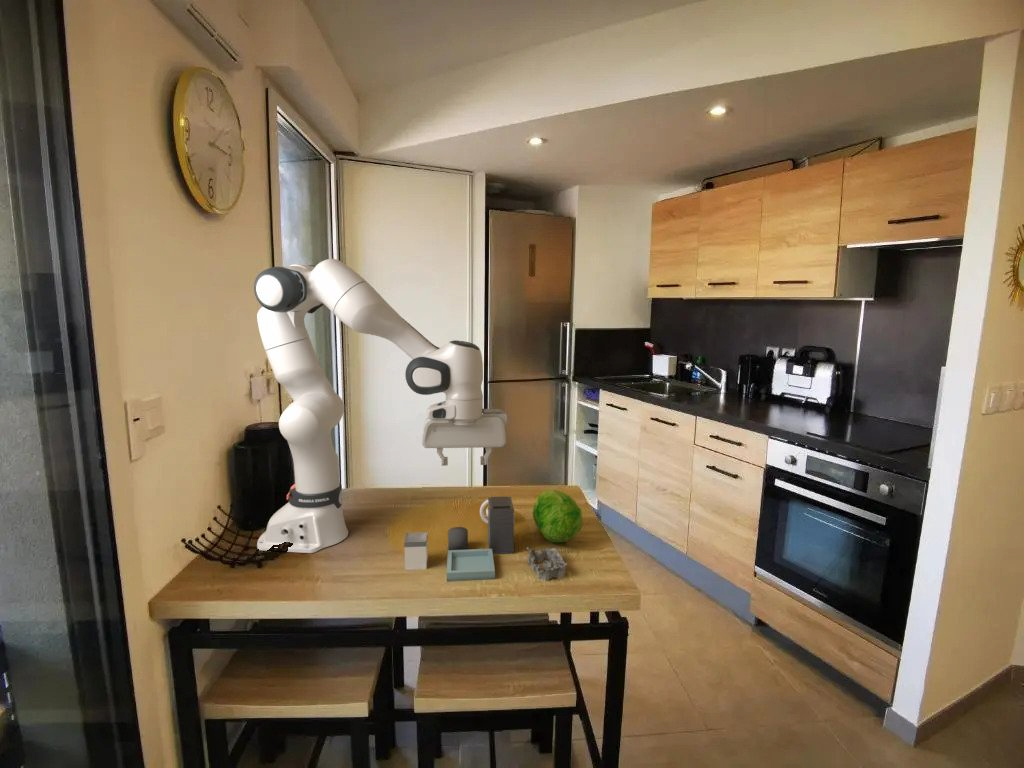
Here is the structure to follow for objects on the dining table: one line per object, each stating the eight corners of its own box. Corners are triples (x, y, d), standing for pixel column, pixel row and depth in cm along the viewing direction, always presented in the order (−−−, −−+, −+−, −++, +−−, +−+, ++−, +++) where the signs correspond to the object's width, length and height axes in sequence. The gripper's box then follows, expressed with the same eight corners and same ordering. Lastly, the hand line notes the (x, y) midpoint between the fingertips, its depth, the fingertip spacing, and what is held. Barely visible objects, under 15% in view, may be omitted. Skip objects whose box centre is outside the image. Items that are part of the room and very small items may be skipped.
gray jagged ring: (524, 561, 129) (525, 545, 128) (553, 557, 131) (553, 542, 130) (537, 583, 118) (538, 566, 118) (568, 579, 120) (569, 562, 120)
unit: (488, 554, 131) (488, 507, 130) (487, 540, 139) (487, 495, 137) (514, 553, 132) (515, 506, 130) (511, 539, 140) (511, 495, 138)
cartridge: (404, 570, 124) (404, 542, 122) (407, 559, 129) (406, 532, 127) (426, 569, 124) (426, 541, 123) (428, 558, 129) (427, 532, 128)
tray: (446, 581, 119) (446, 573, 118) (447, 557, 129) (447, 550, 129) (494, 579, 120) (494, 570, 119) (492, 556, 131) (492, 548, 130)
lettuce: (570, 517, 155) (571, 479, 153) (588, 553, 132) (589, 510, 130) (527, 518, 154) (527, 480, 152) (537, 555, 131) (538, 511, 129)
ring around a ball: (507, 522, 151) (507, 495, 150) (507, 530, 145) (508, 503, 144) (479, 522, 151) (479, 496, 149) (479, 530, 145) (479, 503, 144)
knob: (448, 554, 131) (447, 535, 131) (448, 545, 136) (448, 527, 136) (467, 553, 132) (467, 534, 131) (467, 544, 137) (467, 526, 136)
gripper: (506, 406, 129) (505, 460, 131) (422, 406, 127) (423, 461, 129) (508, 411, 122) (507, 467, 125) (420, 411, 120) (421, 469, 122)
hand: (464, 464), depth 127 cm, fingers open, 8 cm apart
